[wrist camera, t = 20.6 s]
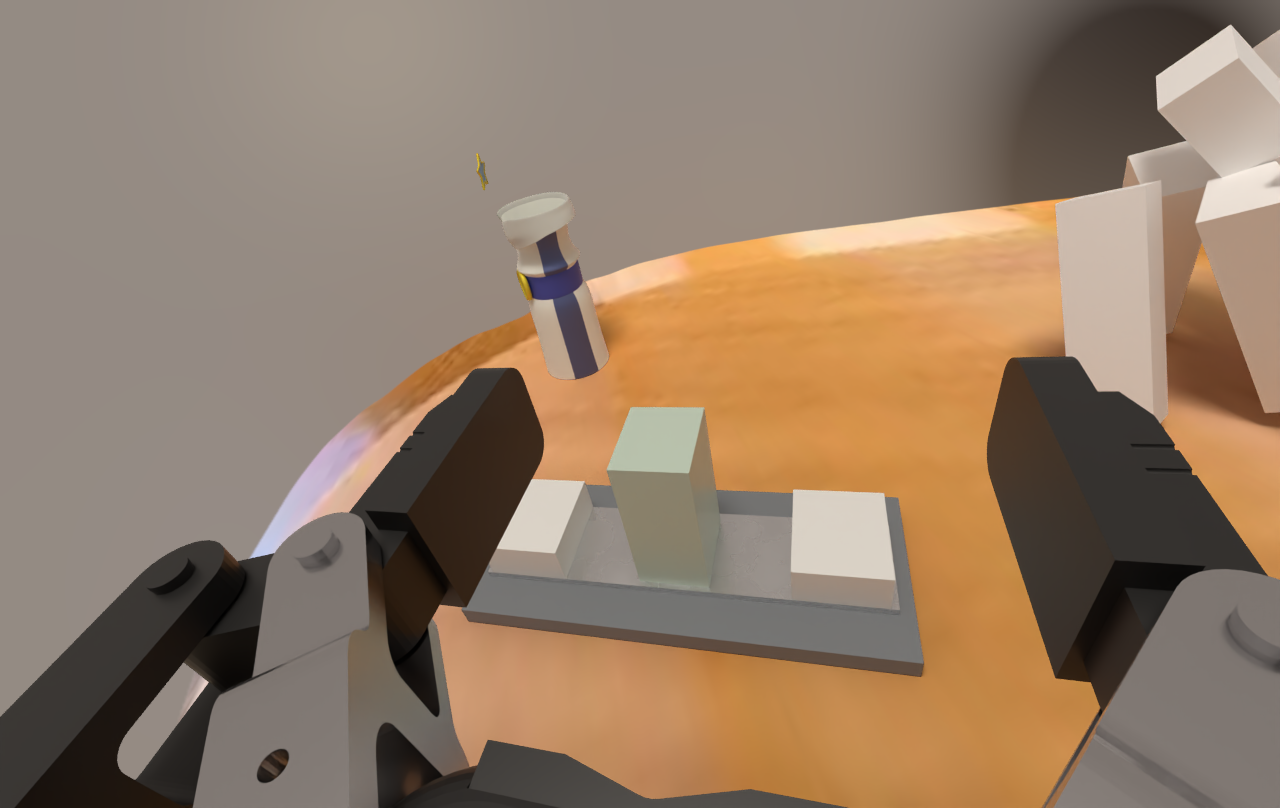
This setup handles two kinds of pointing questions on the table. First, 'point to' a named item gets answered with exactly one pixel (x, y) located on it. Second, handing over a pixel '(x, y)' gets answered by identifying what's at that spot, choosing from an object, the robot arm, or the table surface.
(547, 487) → the rectangular blocks
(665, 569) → the tall block
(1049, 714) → the table surface
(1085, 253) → the white angular blocks
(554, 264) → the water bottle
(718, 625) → the grey board
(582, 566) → the mounting plate
